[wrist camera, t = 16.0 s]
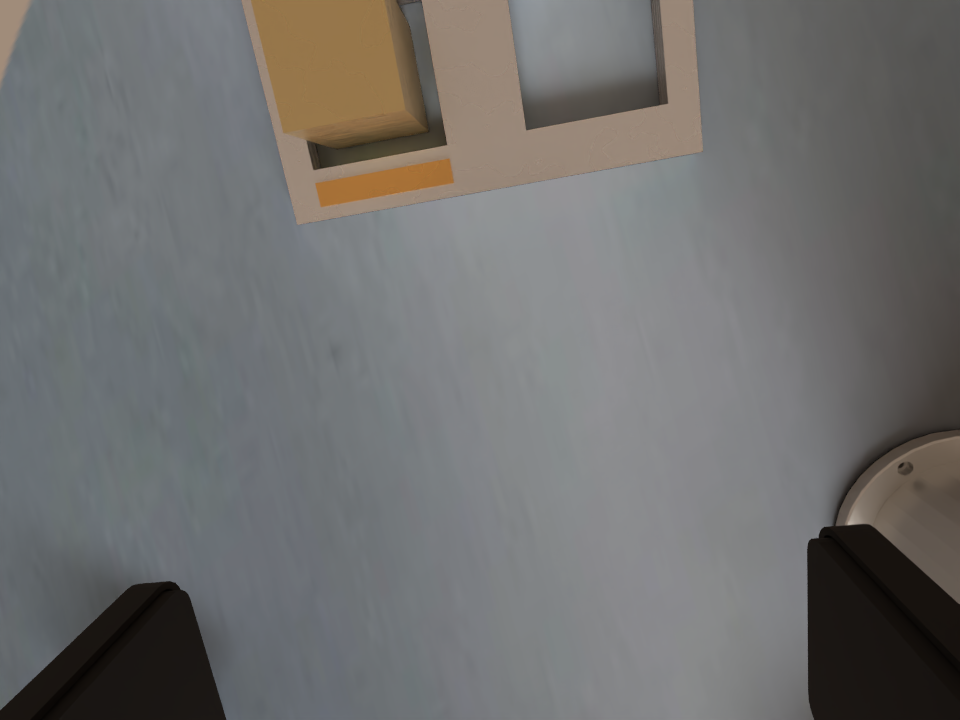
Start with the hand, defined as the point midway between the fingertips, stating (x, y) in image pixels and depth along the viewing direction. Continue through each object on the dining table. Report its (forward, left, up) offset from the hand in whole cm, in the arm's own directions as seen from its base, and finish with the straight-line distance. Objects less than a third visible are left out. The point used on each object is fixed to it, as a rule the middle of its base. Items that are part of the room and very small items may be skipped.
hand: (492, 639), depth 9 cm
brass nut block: (+4, -13, -25) cm, 29 cm away
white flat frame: (-1, -13, -25) cm, 28 cm away
